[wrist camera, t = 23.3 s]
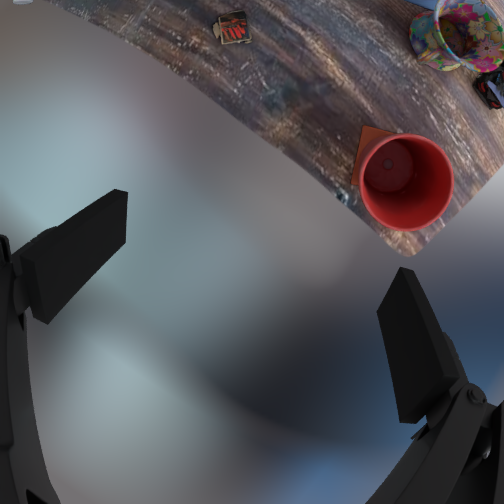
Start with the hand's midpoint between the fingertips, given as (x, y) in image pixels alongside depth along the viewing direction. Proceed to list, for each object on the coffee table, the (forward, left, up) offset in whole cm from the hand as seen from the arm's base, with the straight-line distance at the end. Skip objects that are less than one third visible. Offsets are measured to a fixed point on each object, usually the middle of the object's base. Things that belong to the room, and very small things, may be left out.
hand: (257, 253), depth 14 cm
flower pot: (-1, +13, -28) cm, 31 cm away
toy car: (-19, +28, -29) cm, 45 cm away
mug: (-18, +16, -29) cm, 38 cm away
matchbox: (-15, -9, -29) cm, 34 cm away
